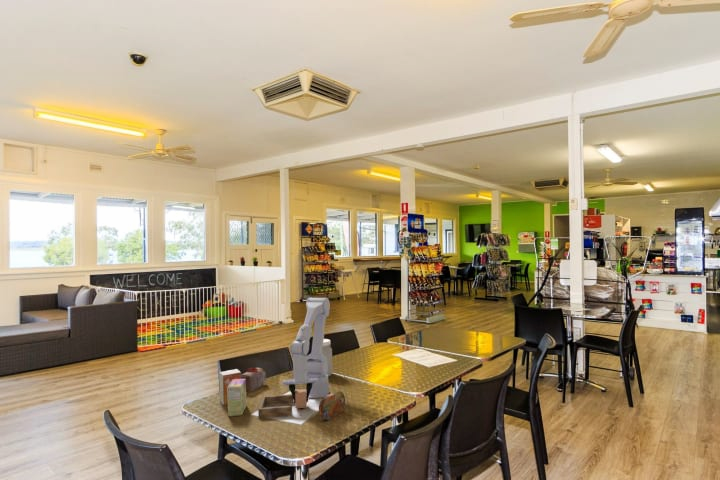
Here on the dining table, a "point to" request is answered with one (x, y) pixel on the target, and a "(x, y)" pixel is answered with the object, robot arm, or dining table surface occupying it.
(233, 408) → the box
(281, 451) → the dining table surface
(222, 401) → the small box
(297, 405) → the block
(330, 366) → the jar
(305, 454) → the dining table surface
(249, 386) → the food item
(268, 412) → the open box
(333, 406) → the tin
